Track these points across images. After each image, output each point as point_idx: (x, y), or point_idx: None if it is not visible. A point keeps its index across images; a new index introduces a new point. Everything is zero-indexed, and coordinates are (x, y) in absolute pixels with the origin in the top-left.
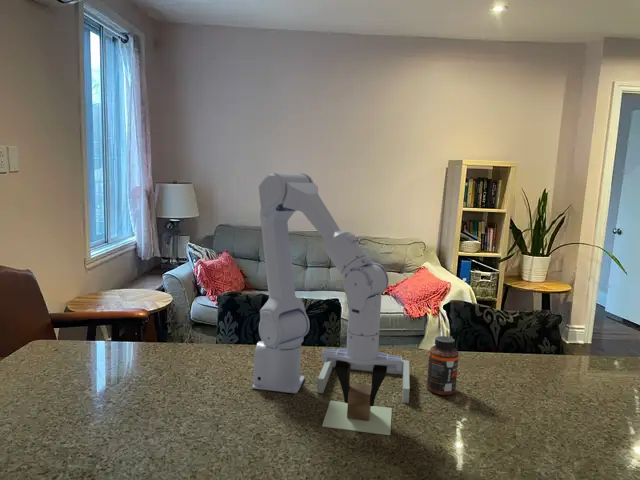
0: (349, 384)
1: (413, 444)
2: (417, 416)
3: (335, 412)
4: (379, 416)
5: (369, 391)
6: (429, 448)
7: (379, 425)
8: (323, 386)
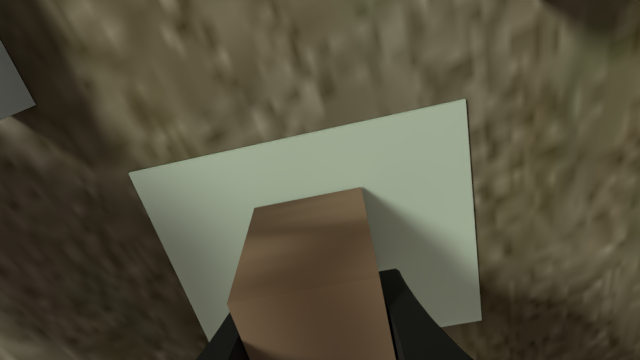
0: (236, 350)
1: (571, 332)
2: (610, 118)
3: (213, 264)
4: (414, 212)
5: (385, 352)
6: (630, 332)
7: (429, 280)
8: (3, 108)
